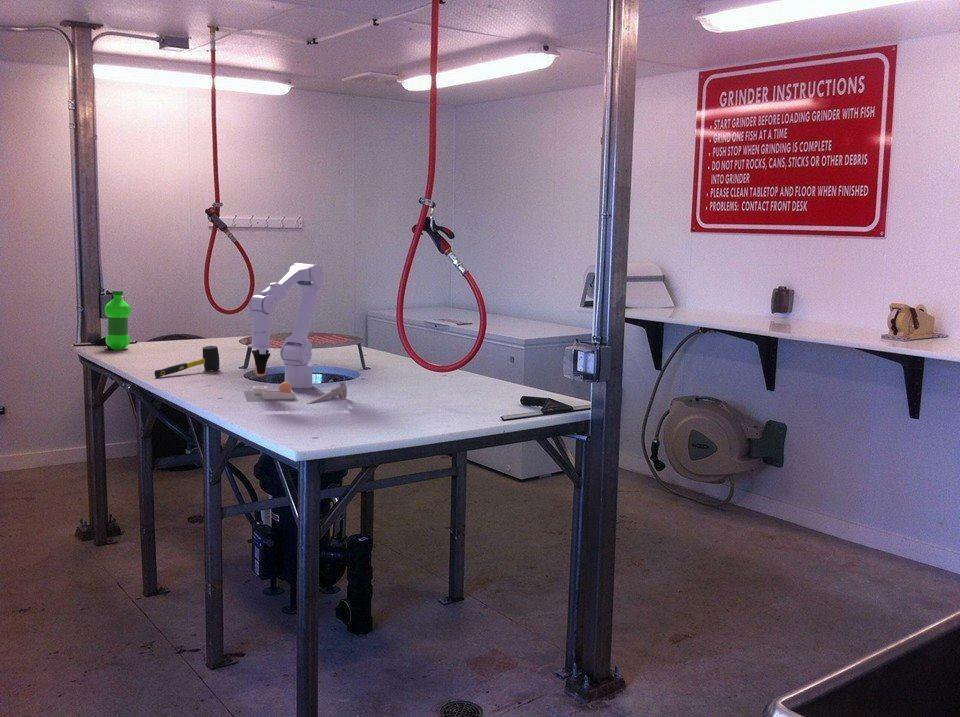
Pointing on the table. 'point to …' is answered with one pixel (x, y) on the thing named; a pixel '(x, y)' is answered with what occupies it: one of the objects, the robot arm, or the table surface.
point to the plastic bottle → (117, 321)
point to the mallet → (195, 362)
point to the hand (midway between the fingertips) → (260, 372)
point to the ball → (257, 373)
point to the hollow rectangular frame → (277, 394)
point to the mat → (258, 398)
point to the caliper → (332, 393)
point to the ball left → (285, 387)
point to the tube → (258, 389)
